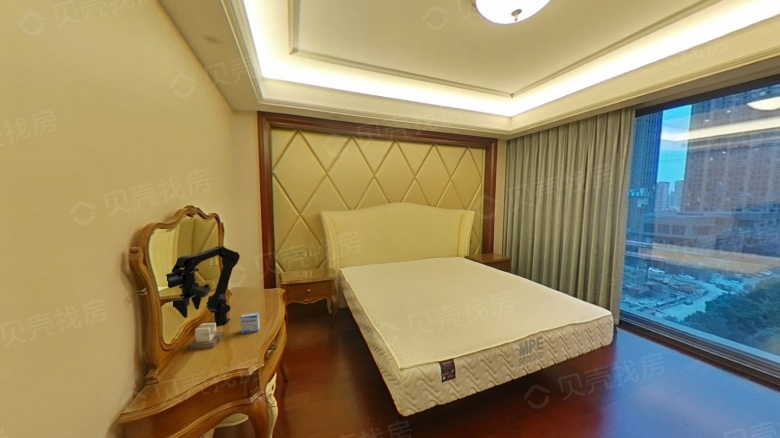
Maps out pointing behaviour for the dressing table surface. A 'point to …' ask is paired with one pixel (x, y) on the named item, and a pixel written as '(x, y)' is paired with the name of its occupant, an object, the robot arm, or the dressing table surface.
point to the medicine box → (250, 322)
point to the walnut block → (208, 344)
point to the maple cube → (205, 332)
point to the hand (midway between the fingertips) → (191, 313)
